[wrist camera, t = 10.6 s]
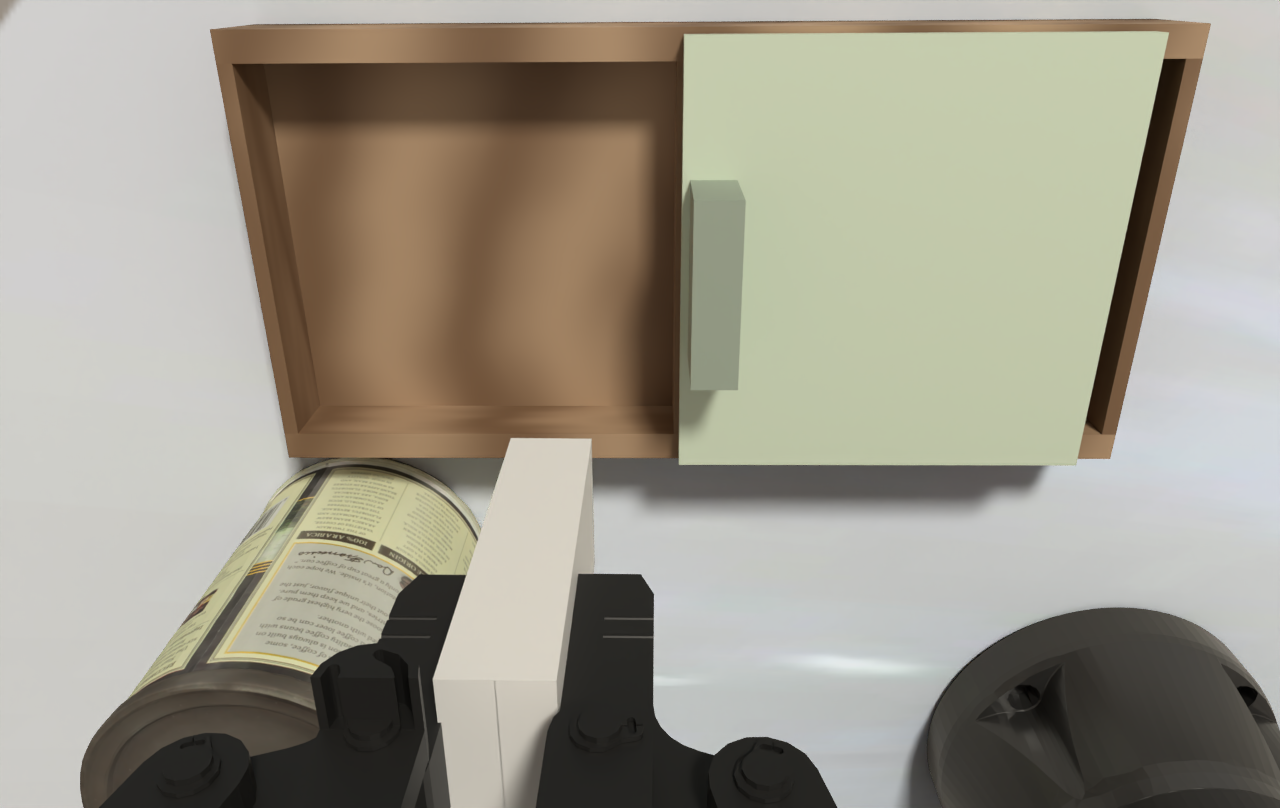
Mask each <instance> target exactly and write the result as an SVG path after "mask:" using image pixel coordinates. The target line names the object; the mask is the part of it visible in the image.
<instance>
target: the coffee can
mask: <svg viewBox="0 0 1280 808" xmlns="http://www.w3.org/2000/svg"><path fill="white" fill-rule="evenodd" d="M480 532H481V528H480V526H479V524H478V522H477V520H476V519H475V517H474V515H473V514H472V512H471V510H470V509H469V508H468V506H467V505H466V504H465V503H464V502H463V501H462V500H461V499H460V498H459V497H457V496H456V494H455V493H454V492H453V491H452V490H451V489H449V488H448V487H447V486H446V485H444V484H443V483H442V482H440V481H439V480H437V479H435V478H434V477H432V476H430V475H429V474H427V473H425V472H423V471H421V470H419V469H416V468H414V467H412V466H409V465H406V464H402V463H399V462H396V461H393V460H390V459H384V458H336V459H330V460H327V461H323V462H320V463H317V464H315V465H312V466H310V467H308V468H306V469H303V470H300V471H299V472H298V473H297V474H295V475H294V476H292V477H291V478H290V479H289V480H287V481H286V482H285V483H284V484H283V485H282V486H281V487H280V488H279V489H278V490H277V491H276V492H275V494H274V495H273V496H272V498H271V499H270V500H269V502H268V504H267V506H266V508H265V510H264V512H263V514H262V515H261V516H260V518H259V519H258V520H257V522H256V523H255V524H254V526H253V527H252V528H251V530H250V531H249V533H248V534H247V535H246V537H245V538H244V539H243V541H242V542H241V544H240V545H239V546H238V548H237V549H236V550H235V552H234V553H233V554H232V556H231V557H230V559H229V560H228V562H227V563H226V564H225V566H224V567H223V569H222V570H221V571H220V573H219V574H218V576H217V577H216V578H215V580H214V581H213V583H212V584H211V585H210V587H209V588H208V589H207V591H206V592H205V593H204V595H203V596H202V598H201V599H200V600H199V602H198V603H197V605H196V606H195V607H194V609H193V610H192V611H191V613H190V614H189V615H188V617H187V618H186V619H185V621H184V622H183V624H182V625H181V626H180V628H179V629H178V630H177V632H176V633H175V634H174V635H173V637H172V638H171V640H170V641H169V642H168V644H167V645H166V647H165V649H164V650H163V651H162V653H161V654H160V655H159V657H158V658H157V659H156V661H155V662H154V663H153V665H152V666H151V668H150V669H149V670H148V672H147V673H146V675H145V676H144V677H143V679H142V680H141V681H140V683H139V684H138V686H137V687H136V688H135V690H134V691H133V692H132V694H131V695H130V697H129V698H128V699H127V700H126V701H125V702H124V703H122V704H121V705H120V706H119V707H118V708H117V709H116V710H115V711H114V712H113V713H112V715H111V716H110V717H109V718H108V719H107V720H106V721H105V723H104V724H103V725H102V726H101V727H100V729H99V730H98V731H97V732H96V734H95V735H94V737H93V738H92V740H91V742H90V744H89V746H88V748H87V750H86V753H85V755H84V758H83V760H82V767H81V772H80V791H81V797H82V803H83V807H84V808H99V807H100V806H101V805H102V804H103V803H104V802H105V801H106V800H107V799H108V798H109V797H110V796H111V795H112V794H113V793H114V792H115V791H116V790H117V788H118V787H119V786H120V785H121V784H122V783H123V782H124V781H125V780H126V779H127V778H128V777H129V776H130V775H131V774H132V773H133V772H134V771H135V770H136V769H137V768H138V767H139V766H140V765H141V764H142V763H143V762H144V761H146V760H147V759H148V758H149V757H151V756H152V755H153V754H154V753H156V752H157V751H158V750H160V749H161V748H162V747H165V746H167V745H169V744H171V743H173V742H175V741H177V740H180V739H182V738H184V737H189V736H193V735H198V734H202V733H225V734H228V735H230V736H233V737H235V738H237V739H239V740H241V741H242V742H243V744H244V745H245V747H246V748H247V750H248V751H249V755H250V757H251V756H256V755H260V754H264V753H269V752H273V751H277V750H282V749H286V748H290V747H293V746H296V745H299V744H303V743H306V742H308V741H310V740H312V739H314V738H316V736H317V734H318V732H319V730H320V729H319V723H318V718H317V712H316V707H315V702H314V696H313V691H312V685H311V680H310V677H311V676H312V674H313V673H314V672H315V670H316V669H317V668H318V667H319V665H320V664H321V663H323V662H324V661H326V660H327V659H329V658H330V657H332V656H333V655H335V654H336V653H338V652H340V651H343V650H346V649H349V648H352V647H354V646H357V645H364V644H373V643H377V642H378V640H379V639H381V633H382V631H383V628H384V626H385V624H386V621H387V620H389V614H390V612H391V610H392V607H393V605H394V603H395V600H396V598H397V596H398V594H399V593H400V592H401V591H402V590H403V589H404V588H405V587H406V586H407V585H408V584H410V583H411V582H412V581H413V580H414V579H415V578H416V577H417V576H418V575H419V574H431V575H467V572H468V569H469V566H470V563H471V560H472V557H473V553H474V550H475V547H476V544H477V541H478V538H479V535H480Z"/></svg>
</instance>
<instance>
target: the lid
mask: <svg viewBox="0 0 1280 808" xmlns="http://www.w3.org/2000/svg"><path fill="white" fill-rule="evenodd" d="M1168 35H1169V33H1168V32H1159V31H1101V32H931V33H761V34H684V45H683V126H682V206H681V287H680V367H679V447H678V456H679V465H1076V463H1077V458H1078V454H1079V449H1080V444H1081V440H1082V435H1083V431H1084V426H1085V421H1086V417H1087V412H1088V407H1089V403H1090V398H1091V393H1092V389H1093V384H1094V379H1095V375H1096V370H1097V365H1098V361H1099V356H1100V352H1101V347H1102V342H1103V338H1104V333H1105V328H1106V324H1107V319H1108V314H1109V310H1110V305H1111V300H1112V296H1113V291H1114V286H1115V282H1116V277H1117V272H1118V268H1119V263H1120V259H1121V254H1122V249H1123V245H1124V240H1125V235H1126V231H1127V226H1128V221H1129V217H1130V212H1131V207H1132V203H1133V198H1134V193H1135V189H1136V184H1137V180H1138V175H1139V170H1140V166H1141V161H1142V156H1143V152H1144V147H1145V142H1146V138H1147V133H1148V128H1149V124H1150V119H1151V114H1152V110H1153V105H1154V101H1155V96H1156V91H1157V87H1158V82H1159V77H1160V73H1161V68H1162V63H1163V59H1164V54H1165V49H1166V45H1167V40H1168Z"/></svg>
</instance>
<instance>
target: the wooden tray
mask: <svg viewBox="0 0 1280 808" xmlns="http://www.w3.org/2000/svg"><path fill="white" fill-rule="evenodd" d="M1210 25H1211V24H1209V23H1197V22H1185V21H1173V20H1161V19H1077V20H913V21H748V22H584V23H420V24H256V25H246V26H237V27H228V28H220V29H211V30H210V33H211V38H212V43H213V49H214V54H215V60H216V65H217V70H218V76H219V81H220V87H221V92H222V97H223V103H224V108H225V114H226V119H227V124H228V130H229V135H230V141H231V146H232V151H233V157H234V162H235V168H236V173H237V178H238V184H239V189H240V195H241V200H242V205H243V211H244V216H245V222H246V227H247V232H248V238H249V243H250V249H251V254H252V259H253V265H254V270H255V276H256V281H257V286H258V292H259V297H260V303H261V308H262V313H263V319H264V324H265V330H266V335H267V340H268V346H269V351H270V357H271V362H272V367H273V373H274V378H275V384H276V389H277V394H278V400H279V405H280V411H281V416H282V421H283V427H284V432H285V438H286V443H287V448H288V454H289V457H300V458H505V455H506V452H507V449H508V445H509V442H510V439H511V438H570V439H592V458H679V456H678V447H679V367H680V287H681V206H682V126H683V45H684V34H761V33H931V32H1101V31H1159V32H1168V33H1169V35H1168V40H1167V45H1166V49H1165V54H1164V59H1163V63H1162V68H1161V73H1160V77H1159V82H1158V87H1157V91H1156V96H1155V101H1154V105H1153V110H1152V114H1151V119H1150V124H1149V128H1148V133H1147V138H1146V142H1145V147H1144V152H1143V156H1142V161H1141V166H1140V170H1139V175H1138V180H1137V184H1136V189H1135V193H1134V198H1133V203H1132V207H1131V212H1130V217H1129V221H1128V226H1127V231H1126V235H1125V240H1124V245H1123V249H1122V254H1121V259H1120V263H1119V268H1118V272H1117V277H1116V282H1115V286H1114V291H1113V296H1112V300H1111V305H1110V310H1109V314H1108V319H1107V324H1106V328H1105V333H1104V338H1103V342H1102V347H1101V352H1100V356H1099V361H1098V365H1097V370H1096V375H1095V379H1094V384H1093V389H1092V393H1091V398H1090V403H1089V407H1088V412H1087V417H1086V421H1085V426H1084V431H1083V435H1082V440H1081V444H1080V449H1079V454H1078V458H1077V459H1110V457H1111V452H1112V448H1113V444H1114V439H1115V435H1116V431H1117V427H1118V422H1119V418H1120V414H1121V409H1122V405H1123V401H1124V396H1125V392H1126V388H1127V383H1128V379H1129V375H1130V370H1131V366H1132V362H1133V357H1134V353H1135V349H1136V345H1137V340H1138V336H1139V332H1140V327H1141V323H1142V319H1143V314H1144V310H1145V306H1146V301H1147V297H1148V293H1149V288H1150V284H1151V280H1152V275H1153V271H1154V267H1155V263H1156V258H1157V254H1158V250H1159V245H1160V241H1161V237H1162V232H1163V228H1164V224H1165V219H1166V215H1167V211H1168V206H1169V202H1170V198H1171V194H1172V189H1173V185H1174V181H1175V176H1176V172H1177V168H1178V163H1179V159H1180V155H1181V150H1182V146H1183V142H1184V137H1185V133H1186V129H1187V124H1188V120H1189V116H1190V112H1191V107H1192V103H1193V99H1194V94H1195V90H1196V86H1197V81H1198V77H1199V73H1200V68H1201V64H1202V60H1203V55H1204V51H1205V47H1206V42H1207V38H1208V34H1209V30H1210Z"/></svg>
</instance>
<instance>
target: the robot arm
mask: <svg viewBox="0 0 1280 808" xmlns="http://www.w3.org/2000/svg"><path fill="white" fill-rule="evenodd" d="M594 563H595V560H594V518H593V476H592V439H570V438H511V439H510V442H509V445H508V449H507V452H506V455H505V458H504V461H503V464H502V467H501V470H500V473H499V476H498V479H497V482H496V486H495V489H494V492H493V495H492V498H491V501H490V504H489V507H488V510H487V513H486V516H485V520H484V523H483V526H482V529H481V532H480V535H479V538H478V541H477V544H476V547H475V550H474V553H473V557H472V560H471V563H470V566H469V569H468V572H467V575H431V574H419V575H418V576H417V577H416V578H415V579H414V580H413V581H412V582H411V583H410V584H408V585H407V586H406V587H405V588H404V589H403V590H402V591H401V592H400V593H399V594H398V596H397V598H396V600H395V603H394V605H393V607H392V610H391V612H390V614H389V620H387V621H386V624H385V626H384V628H383V631H382V633H381V639H379V640H378V642H377V643H373V644H364V645H357V646H354V647H352V648H349V649H346V650H343V651H340V652H338V653H336V654H335V655H333V656H332V657H330V658H329V659H327V660H326V661H324V662H323V663H321V664H320V665H319V667H318V668H317V669H316V670H315V672H314V673H313V674H312V676H311V677H310V680H311V685H312V691H313V696H314V702H315V707H316V712H317V718H318V723H319V729H320V730H319V732H318V734H317V736H316V738H314V739H312V740H310V741H308V742H306V743H303V744H299V745H296V746H293V747H290V748H286V749H282V750H277V751H273V752H269V753H264V754H260V755H256V756H251V757H250V755H249V751H248V750H247V748H246V747H245V745H244V744H243V742H242V741H241V740H239V739H237V738H235V737H233V736H230V735H228V734H225V733H202V734H198V735H193V736H189V737H184V738H182V739H180V740H177V741H175V742H173V743H171V744H169V745H167V746H165V747H162V748H161V749H160V750H158V751H157V752H156V753H154V754H153V755H152V756H151V757H149V758H148V759H147V760H146V761H144V762H143V763H142V764H141V765H140V766H139V767H138V768H137V769H136V770H135V771H134V772H133V773H132V774H131V775H130V776H129V777H128V778H127V779H126V780H125V781H124V782H123V783H122V784H121V785H120V786H119V787H118V788H117V790H116V791H115V792H114V793H113V794H112V795H111V796H110V797H109V798H108V799H107V800H106V801H105V802H104V803H103V804H102V805H101V806H100V807H99V808H837V806H836V804H835V802H834V800H833V798H832V796H831V794H830V792H829V791H828V789H827V787H826V785H825V783H824V781H823V779H822V777H821V775H820V773H819V771H818V769H817V768H816V767H815V765H814V764H813V763H812V762H811V760H810V759H809V758H808V757H807V755H806V754H805V753H803V752H802V751H800V750H799V749H797V748H795V747H794V746H792V745H791V744H789V743H787V742H783V741H780V740H776V739H772V738H769V737H746V738H743V739H740V740H737V741H735V742H732V743H729V744H727V745H726V746H725V747H724V748H722V749H721V750H720V751H719V752H718V753H717V754H715V755H711V754H707V753H704V752H700V751H697V750H694V749H692V748H689V747H687V746H684V745H682V744H680V743H679V742H677V741H676V740H674V739H673V738H671V737H670V736H669V735H668V734H667V733H666V732H665V731H664V730H663V729H662V728H661V727H660V725H659V723H658V721H657V719H656V717H655V714H654V708H653V636H654V594H653V592H652V591H651V589H650V588H649V586H648V585H647V583H646V582H645V580H644V579H643V577H642V575H641V574H593V572H594ZM927 758H928V765H929V770H930V773H931V777H932V780H933V782H934V785H935V788H936V791H937V794H938V797H939V800H940V803H941V805H942V808H1280V730H1279V727H1278V724H1277V722H1276V719H1275V716H1274V713H1273V710H1272V708H1271V706H1270V703H1269V701H1268V699H1267V698H1266V696H1265V694H1264V693H1263V691H1262V689H1261V688H1260V686H1259V685H1258V683H1257V682H1256V681H1255V679H1254V678H1253V677H1252V676H1251V675H1250V674H1249V672H1248V671H1247V670H1246V669H1245V668H1244V666H1243V665H1242V664H1241V663H1240V662H1239V661H1238V659H1237V658H1236V657H1235V656H1234V655H1233V653H1232V652H1231V651H1230V650H1229V649H1228V648H1227V647H1226V646H1225V645H1224V644H1223V643H1222V642H1221V641H1220V640H1219V639H1218V638H1216V637H1215V636H1214V635H1212V634H1211V633H1209V632H1208V631H1206V630H1205V629H1203V628H1201V627H1200V626H1198V625H1196V624H1194V623H1192V622H1189V621H1187V620H1184V619H1182V618H1179V617H1176V616H1173V615H1170V614H1166V613H1162V612H1158V611H1152V610H1146V609H1137V608H1100V609H1090V610H1083V611H1078V612H1073V613H1068V614H1064V615H1060V616H1056V617H1053V618H1050V619H1047V620H1044V621H1041V622H1038V623H1036V624H1033V625H1030V626H1028V627H1026V628H1024V629H1022V630H1019V631H1017V632H1015V633H1014V634H1012V635H1010V636H1008V637H1006V638H1004V639H1003V640H1001V641H999V642H998V643H996V644H995V645H993V646H992V647H990V648H989V649H987V650H986V651H985V652H983V653H982V654H981V655H980V656H978V657H977V658H976V659H975V660H974V661H973V662H971V663H970V664H969V665H968V666H967V667H966V668H965V669H964V670H963V671H962V672H961V673H960V674H959V675H958V677H957V678H956V679H955V680H954V681H953V683H952V684H951V685H950V687H949V688H948V689H947V691H946V692H945V694H944V696H943V697H942V699H941V701H940V703H939V705H938V707H937V709H936V711H935V713H934V716H933V719H932V722H931V725H930V729H929V734H928V741H927Z"/></svg>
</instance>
